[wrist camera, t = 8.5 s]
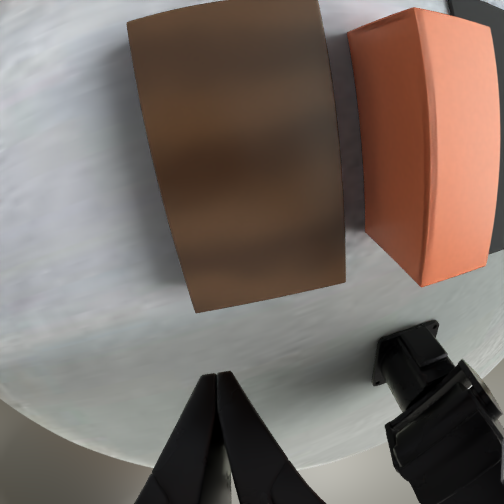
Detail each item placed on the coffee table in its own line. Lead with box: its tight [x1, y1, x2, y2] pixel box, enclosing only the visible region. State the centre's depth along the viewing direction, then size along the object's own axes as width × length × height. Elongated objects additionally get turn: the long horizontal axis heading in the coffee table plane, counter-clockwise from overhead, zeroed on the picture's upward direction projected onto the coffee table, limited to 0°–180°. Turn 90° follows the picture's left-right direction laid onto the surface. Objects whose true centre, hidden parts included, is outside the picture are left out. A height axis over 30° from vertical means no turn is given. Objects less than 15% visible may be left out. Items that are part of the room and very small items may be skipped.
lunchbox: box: [347, 7, 500, 287], centre depth 14 cm, size 13×7×5 cm
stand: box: [127, 0, 346, 313], centre depth 16 cm, size 16×9×3 cm, turn 9°
